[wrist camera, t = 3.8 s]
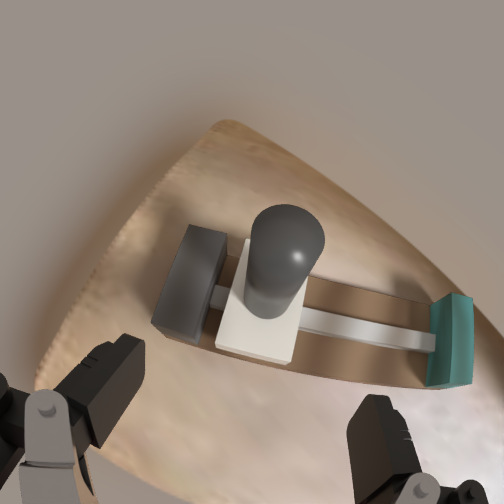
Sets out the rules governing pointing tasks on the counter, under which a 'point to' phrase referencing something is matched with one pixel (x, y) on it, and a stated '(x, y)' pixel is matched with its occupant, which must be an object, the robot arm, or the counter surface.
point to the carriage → (271, 284)
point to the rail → (326, 324)
